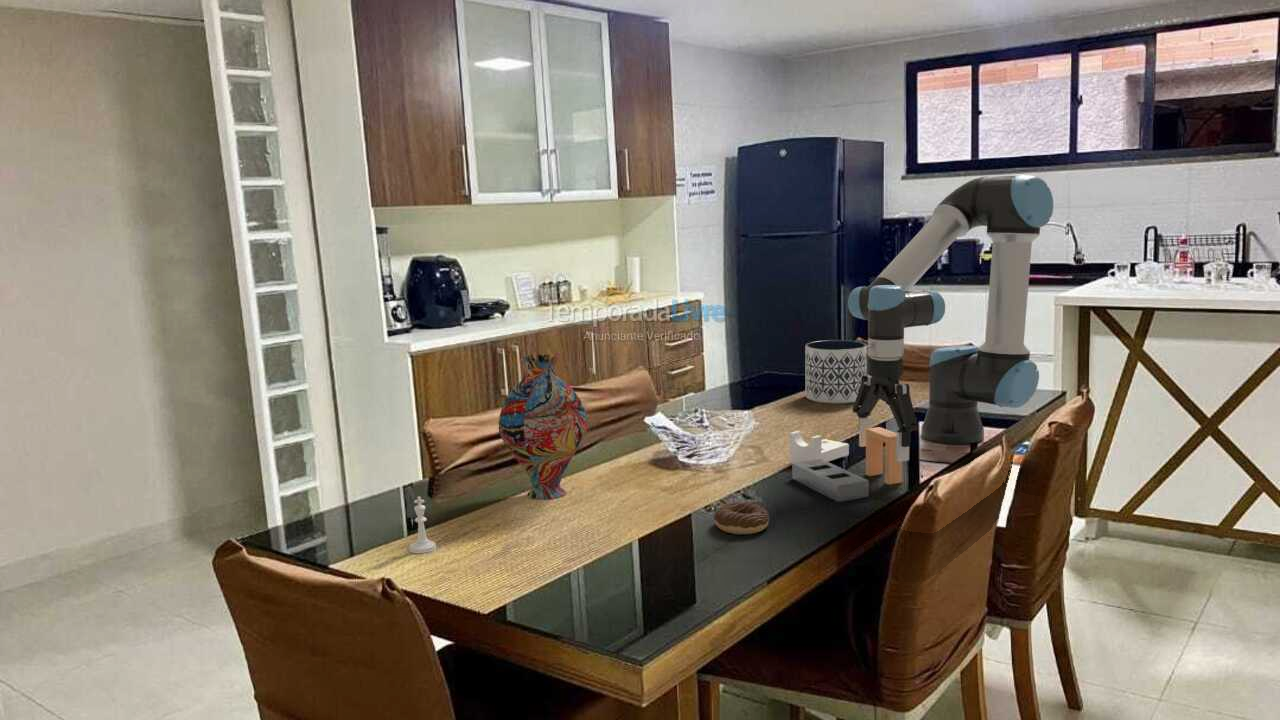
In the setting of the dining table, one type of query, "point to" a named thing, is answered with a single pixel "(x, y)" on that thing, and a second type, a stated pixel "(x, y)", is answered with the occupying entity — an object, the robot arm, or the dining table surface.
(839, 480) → the grey slotted block
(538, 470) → the vase
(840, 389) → the planter
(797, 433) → the bracket
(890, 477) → the clip
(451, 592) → the dining table surface
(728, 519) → the donut
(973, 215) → the robot arm
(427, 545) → the chess piece
